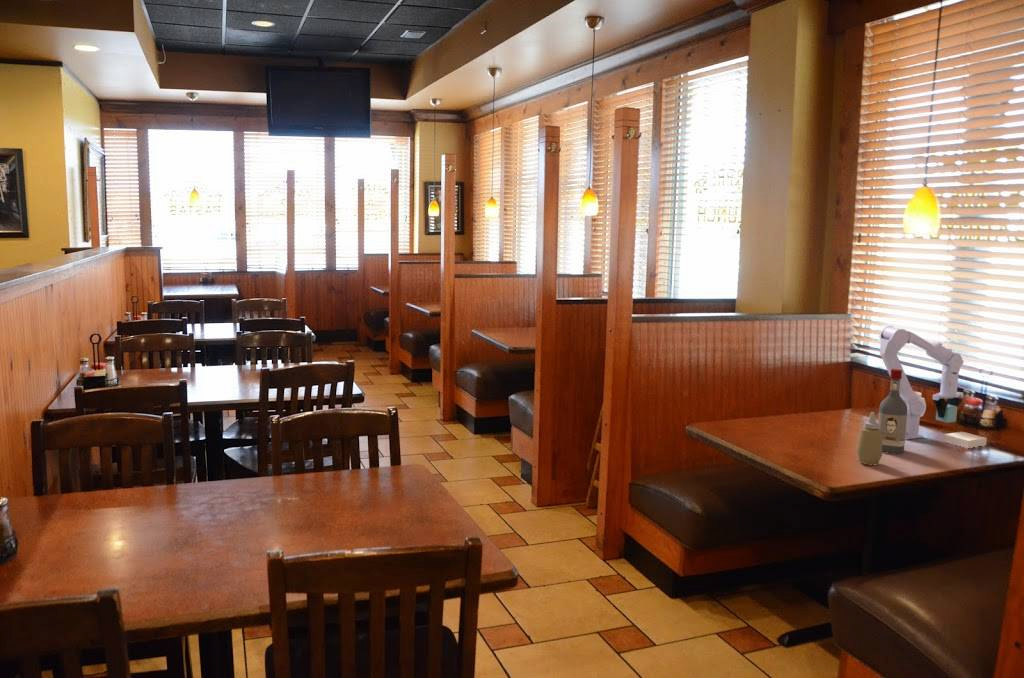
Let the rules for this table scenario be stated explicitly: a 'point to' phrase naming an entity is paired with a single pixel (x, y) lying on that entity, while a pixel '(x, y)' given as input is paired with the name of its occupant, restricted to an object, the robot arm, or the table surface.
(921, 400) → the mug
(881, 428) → the liquor
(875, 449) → the squeeze bottle
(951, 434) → the base board
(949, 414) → the teal block
